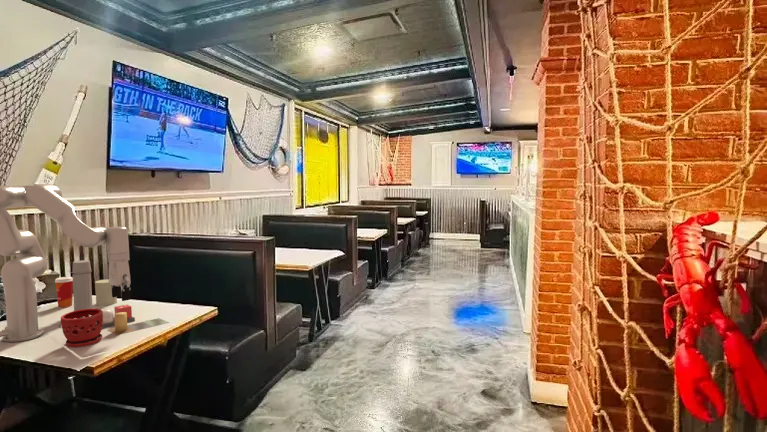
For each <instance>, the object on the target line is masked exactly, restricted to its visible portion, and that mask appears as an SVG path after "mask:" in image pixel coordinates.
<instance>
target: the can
mask: <svg viewBox="0 0 767 432" xmlns="http://www.w3.org/2000/svg"><path fill="white" fill-rule="evenodd" d="M94 283H95V285H94V287H95V305H96V306H101V307H102V306H103V307H104V306H105V307H106V306H111V305H114V304H117V303H118V298H117V297H112V287H111V284H110V283H109V278H108V279H99V280H96V281H94Z"/></svg>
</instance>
